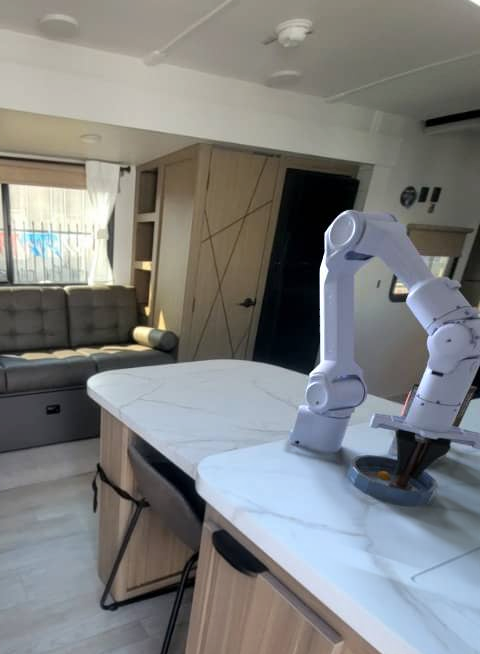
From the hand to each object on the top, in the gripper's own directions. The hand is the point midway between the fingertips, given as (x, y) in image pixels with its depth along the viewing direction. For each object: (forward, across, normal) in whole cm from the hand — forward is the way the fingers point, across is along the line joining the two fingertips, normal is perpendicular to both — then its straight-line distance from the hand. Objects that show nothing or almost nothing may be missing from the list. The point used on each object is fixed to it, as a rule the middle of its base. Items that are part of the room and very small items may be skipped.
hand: (405, 474), depth 68 cm
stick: (+3, 0, 0) cm, 3 cm away
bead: (+3, -2, +3) cm, 5 cm away
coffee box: (+4, +4, +17) cm, 18 cm away
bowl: (+4, -2, 0) cm, 5 cm away
